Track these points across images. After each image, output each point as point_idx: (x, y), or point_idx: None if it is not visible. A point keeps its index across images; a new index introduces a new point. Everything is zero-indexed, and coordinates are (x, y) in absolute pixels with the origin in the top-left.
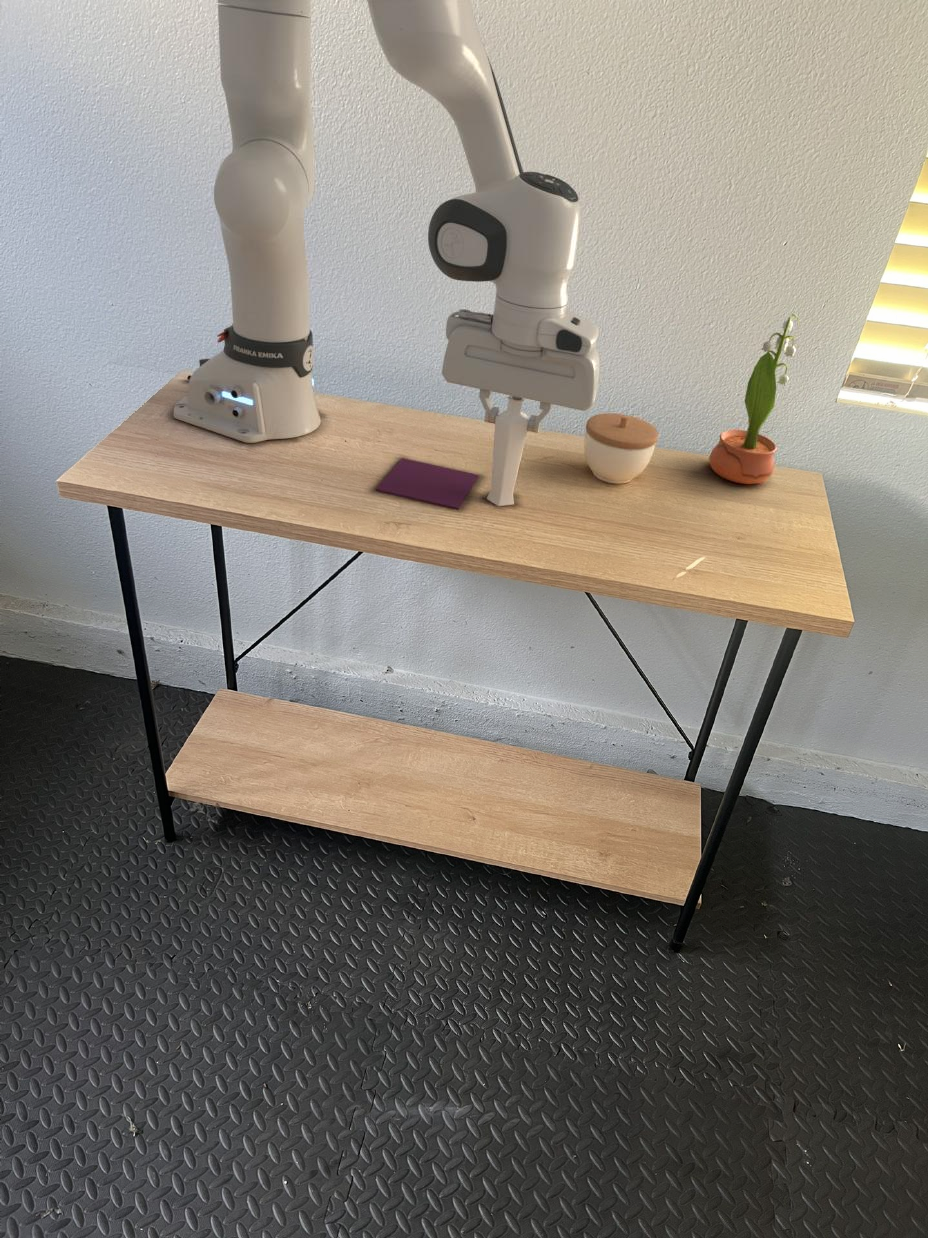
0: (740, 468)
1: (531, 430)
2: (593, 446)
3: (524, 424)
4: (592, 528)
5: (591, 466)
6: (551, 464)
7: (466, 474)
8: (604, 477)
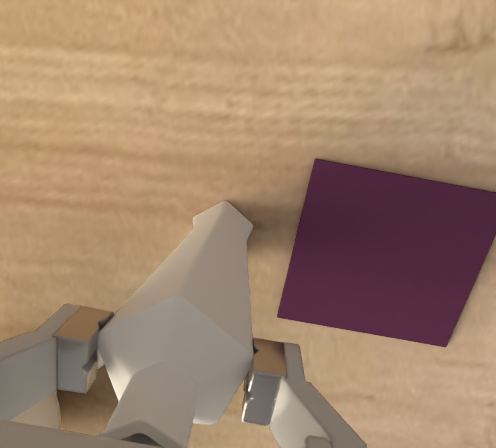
0: None
1: (91, 308)
2: None
3: (115, 322)
4: (11, 158)
5: None
6: None
7: (304, 312)
8: None
